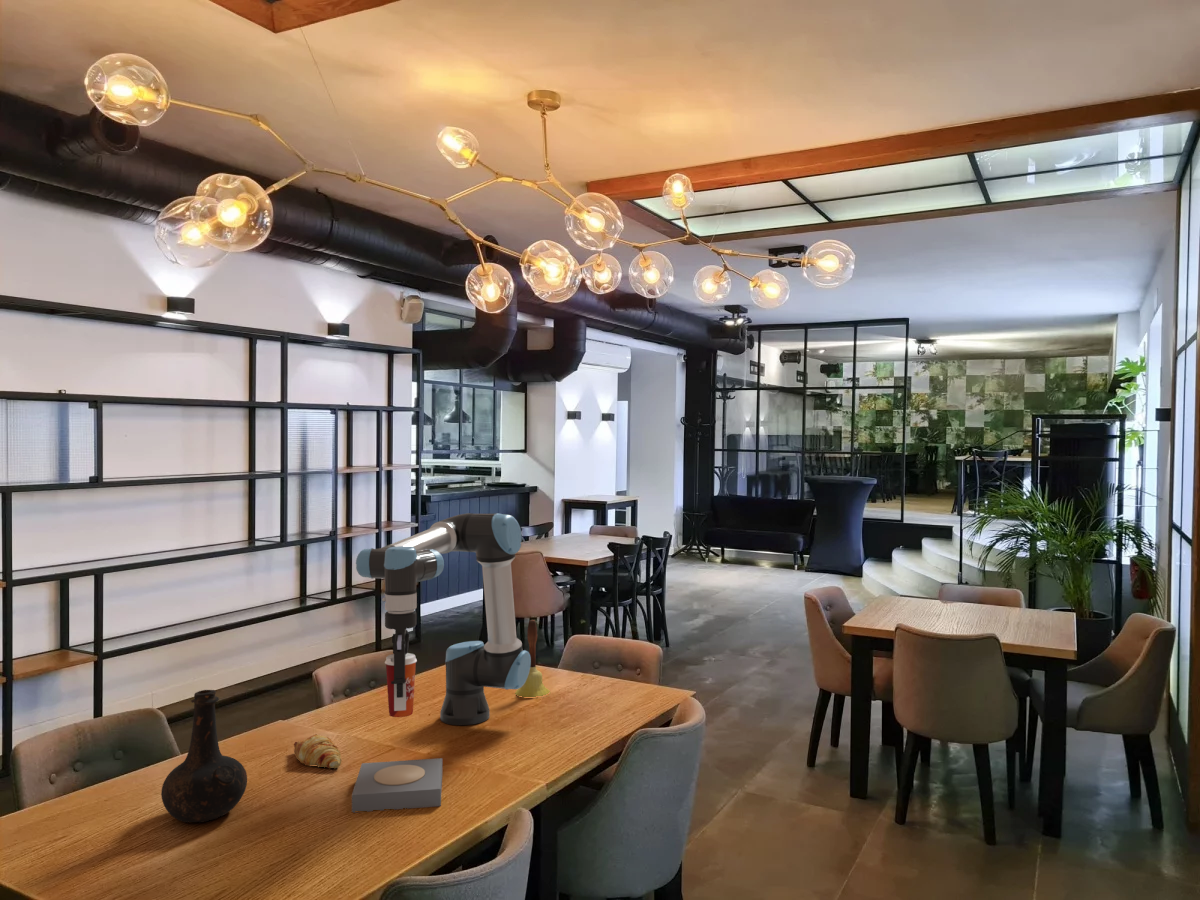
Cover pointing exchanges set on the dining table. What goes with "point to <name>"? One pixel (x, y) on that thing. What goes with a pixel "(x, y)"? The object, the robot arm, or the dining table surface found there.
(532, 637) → the handbell
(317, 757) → the croissant
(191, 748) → the glass bottle
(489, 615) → the robot arm
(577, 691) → the dining table surface
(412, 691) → the paper cup
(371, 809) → the plinth
